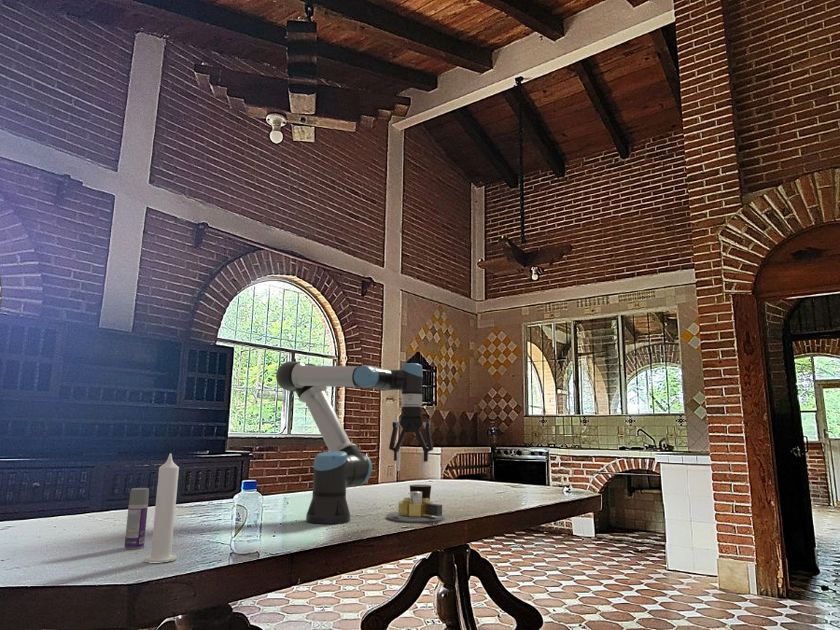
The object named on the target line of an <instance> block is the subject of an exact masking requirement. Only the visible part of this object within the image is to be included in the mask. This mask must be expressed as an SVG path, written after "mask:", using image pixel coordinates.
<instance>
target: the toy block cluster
mask: <svg viewBox="0 0 840 630" xmlns="http://www.w3.org/2000/svg"><path fill="white" fill-rule="evenodd" d="M397 512H398V514H399V515H404V516H420V517H421V516H431V515H433V516H442V514H443V504H438V503H434V502H433V501H429V498H423V500H422V504H410V497H403V499H402V501H399V502H398V511H397Z"/></svg>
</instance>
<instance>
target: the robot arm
mask: <svg viewBox="0 0 840 630" xmlns="http://www.w3.org/2000/svg"><path fill="white" fill-rule="evenodd" d="M423 377H424V375H423V365H422V364H419V363H416V362H415V363H413V362H412V363H411V362H410V363H403V364H402V366H401V368H400V369H385V368H380V367H375V366H372V365H361V366H358V365H357V366H352V365H345V366H344V365H316V364H313V363H305V362H299V361H293V360H291V361H286V362H284V363H282V364H281V365H280V366H279V367H278V368H277V370H276V373H275V378H276V379H275V380H276V382H277V384H278V386H279V387H280V388H281V389H283V390H285V391H288V392H295V393H296V395H297V397H298V399H299V401H300V402H302V403H305V404H306V406H307V408H308V410H309V412H310V415H311V416H312V419H313V421H314V423H315V425H316V427H317V428H318V430H319V433H320V435H321V436H322V439H323V441H324V443H325V445H326V447H327V449H328V451H323V452H320V453H317V454H316V455H315V457H314V459H313V460H314V461H313V465H312V466H313V474H312V475H313V476H312V497H311V501H310V504H309V506H308V510H307V511H306V516H305V517H306V518H305V521H306V522H307V523H310V524H311V523H312V524H318V525H319V524H321V525H323V524H324V525H326V524H327V525H328V524H330V525H331V524H332V525H333V524H334V525H335V524H336V525H337V524H343V523H348V522H350V520H351V512H350V508H349V505H348V501H347V488H349V487H350V488H352V487H354V488H356V487H359V486H361V485H364V484H366V483H367V482H369V480H370V478H371V476H372V472H373V463H372V460H371V459H370V457H369V456H368V455H367V454H365V453H362V452H361V451H360V449H359V447H358V445H357V444H356V443H352V442H351V440H350V437H348V436H349V435H348V434H347V432H346V430H345V429H344V427H343V425H342V423H341V421H340V419H339V416H338V415H337V412H336V411H335V409H334V407H333V405H332V403H331V401H330V399H329V397H328V395H327V394H326V391H327V389H328V388H327V387H329V388H330V387H331V388H332V387H333V388H334V387H336V388H338V387H339V388H360V389H361V388H362V389H363V388H366V389H367V388H368V389H374V390H375V391H383V392H385V391H401V406H402V407H401V408H400V409H401V410H400V411H401V413H400V417H401V418H400V421H393V422H392V424H391V425H392V431H391V435H390V442H389V446H388V449H389V450H390V451H392V452H393V460H394V462H396V463H395V464H396V466H395V467H396V468H395V469H396V470H395V471H396V472H398V471H401V461H402V460H401V459H402V457H401V454H402V453H401V451H400V448H401V446H402V444H403V442H404V439H405V438H406V435H407V434H408V433H415V434H416V437H417V439H418V441H419V444H420V446H421V448H422V451H423V452H421V454H420V455H421V456H420V457H421V459H420V460H421V461H420V462H421V463H420V464H421V465H420V471H421V472H422V473H423V472H426V462H428V461H429V460H428V459H429V453H430V452H431V451H433V450H434V445H433V440H432V439H433V438H432V433H431V425H432V424H431V422H428V421H427V422H425V421H424V420H423V408H422V407H421V406H423ZM400 426H401V428H402V431H401V432H400V435H399V438H398V440H397V435H398V429H399V428H400ZM422 426H423V428H424V429H425V430H424V431H425V435H426V442H425V438H424V437H423V434H422V431H421V427H422ZM396 440H397V442H396ZM426 443H427V444H426Z"/></svg>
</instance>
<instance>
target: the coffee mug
mask: <svg viewBox="0 0 840 630" xmlns="http://www.w3.org/2000/svg"><path fill="white" fill-rule="evenodd" d="M413 491H418V492H422V500H423V498H429V502H431V501H430V499H431V492H432V485H431V484H410V485H409V493H410V492H413Z"/></svg>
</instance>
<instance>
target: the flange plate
mask: <svg viewBox="0 0 840 630" xmlns="http://www.w3.org/2000/svg"><path fill="white" fill-rule="evenodd" d="M409 498H410V504H422V492H418V491H413V492H410V491H409ZM445 517H446V516H445V514H444V513H442V516H433V515H431V516H421V517H420V516H404V515H399V514H398V511H392V512H388V513H387V514H386V519H387V520H389V521H393V522H397V523H398V522H399V523H409V522H410V523H411V524H414V523H415V524H417V523H419V524H420V523H421V524H423V523H437V522H441V521H444V520H445Z"/></svg>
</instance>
